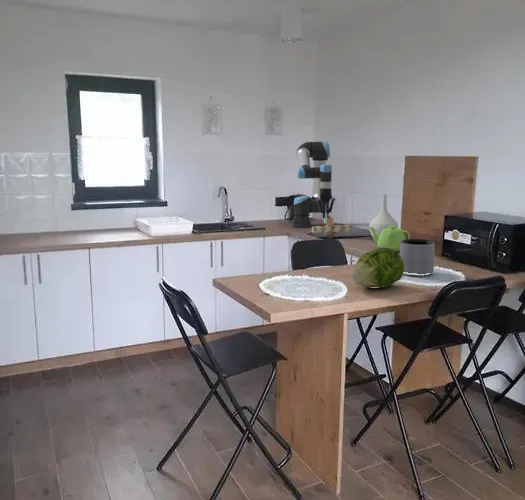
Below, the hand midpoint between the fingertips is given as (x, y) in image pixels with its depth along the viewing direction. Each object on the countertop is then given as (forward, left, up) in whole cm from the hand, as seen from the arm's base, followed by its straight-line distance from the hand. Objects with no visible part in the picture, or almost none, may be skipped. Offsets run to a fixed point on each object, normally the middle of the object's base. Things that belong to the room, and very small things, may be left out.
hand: (325, 222), depth 352 cm
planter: (+109, +11, -10) cm, 110 cm away
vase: (+22, +32, -10) cm, 40 cm away
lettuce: (+129, -18, -10) cm, 131 cm away
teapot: (+51, +23, -10) cm, 57 cm away
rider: (0, +3, -4) cm, 5 cm away
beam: (0, +4, -10) cm, 11 cm away
